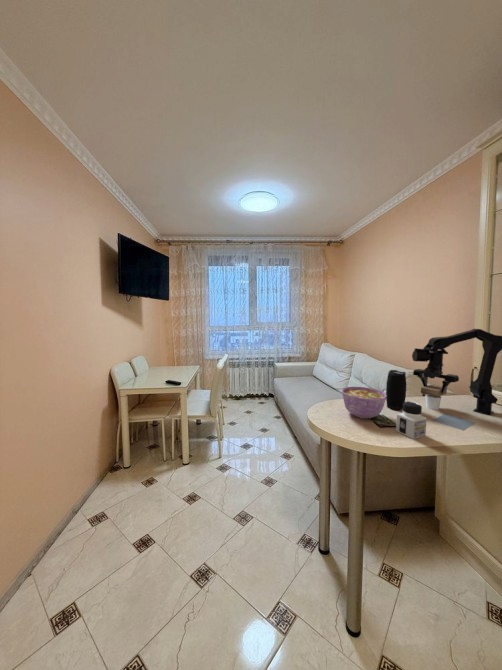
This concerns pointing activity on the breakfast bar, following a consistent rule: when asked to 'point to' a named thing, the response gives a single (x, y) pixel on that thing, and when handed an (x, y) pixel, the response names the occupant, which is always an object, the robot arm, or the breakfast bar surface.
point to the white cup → (433, 402)
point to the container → (411, 421)
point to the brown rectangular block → (433, 390)
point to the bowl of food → (363, 401)
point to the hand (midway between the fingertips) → (433, 391)
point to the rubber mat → (454, 421)
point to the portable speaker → (396, 389)
